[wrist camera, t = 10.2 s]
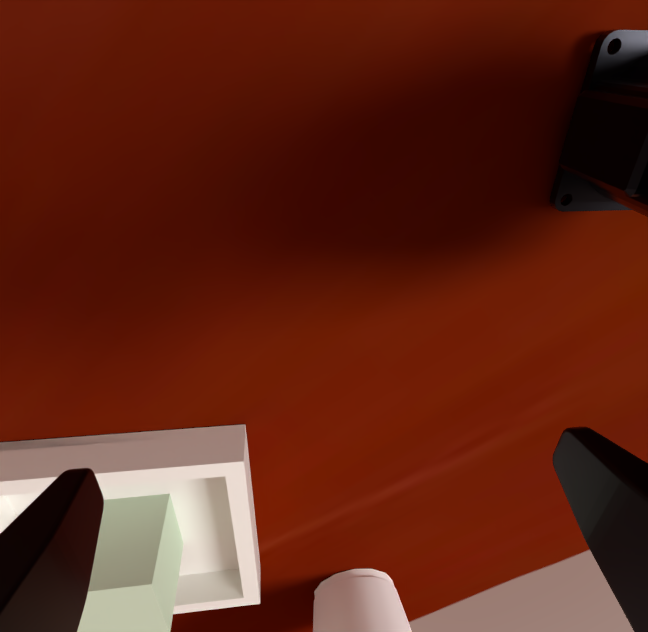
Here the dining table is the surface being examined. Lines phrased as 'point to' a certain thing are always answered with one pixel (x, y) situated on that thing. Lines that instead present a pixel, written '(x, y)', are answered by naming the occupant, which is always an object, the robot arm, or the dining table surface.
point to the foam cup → (358, 603)
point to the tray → (154, 479)
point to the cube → (134, 567)
